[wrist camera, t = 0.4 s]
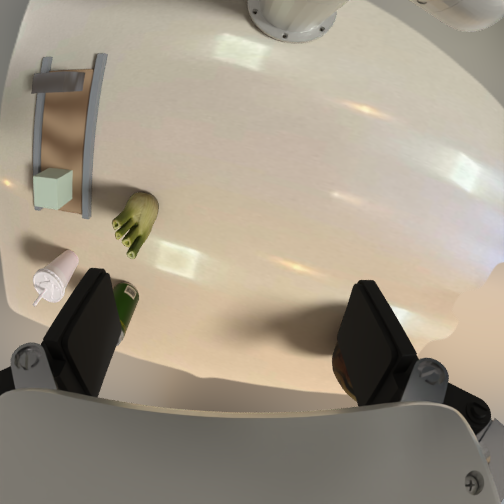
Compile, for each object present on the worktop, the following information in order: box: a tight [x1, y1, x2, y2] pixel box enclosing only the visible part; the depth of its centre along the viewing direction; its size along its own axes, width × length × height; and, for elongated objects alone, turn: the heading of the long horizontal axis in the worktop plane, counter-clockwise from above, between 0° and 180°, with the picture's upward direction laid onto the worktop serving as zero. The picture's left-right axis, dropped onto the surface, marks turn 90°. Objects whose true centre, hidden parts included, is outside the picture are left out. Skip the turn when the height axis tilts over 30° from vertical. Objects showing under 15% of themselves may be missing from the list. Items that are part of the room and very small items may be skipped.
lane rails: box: [33, 53, 108, 219], centre depth 38 cm, size 27×12×1 cm, turn 167°
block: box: [33, 168, 73, 210], centre depth 39 cm, size 5×5×5 cm
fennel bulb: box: [112, 192, 159, 259], centre depth 40 cm, size 6×5×12 cm
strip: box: [31, 69, 94, 214], centre depth 36 cm, size 24×9×7 cm, turn 167°
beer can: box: [113, 282, 139, 346], centre depth 48 cm, size 5×5×12 cm
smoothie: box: [33, 250, 79, 306], centre depth 43 cm, size 6×6×14 cm
